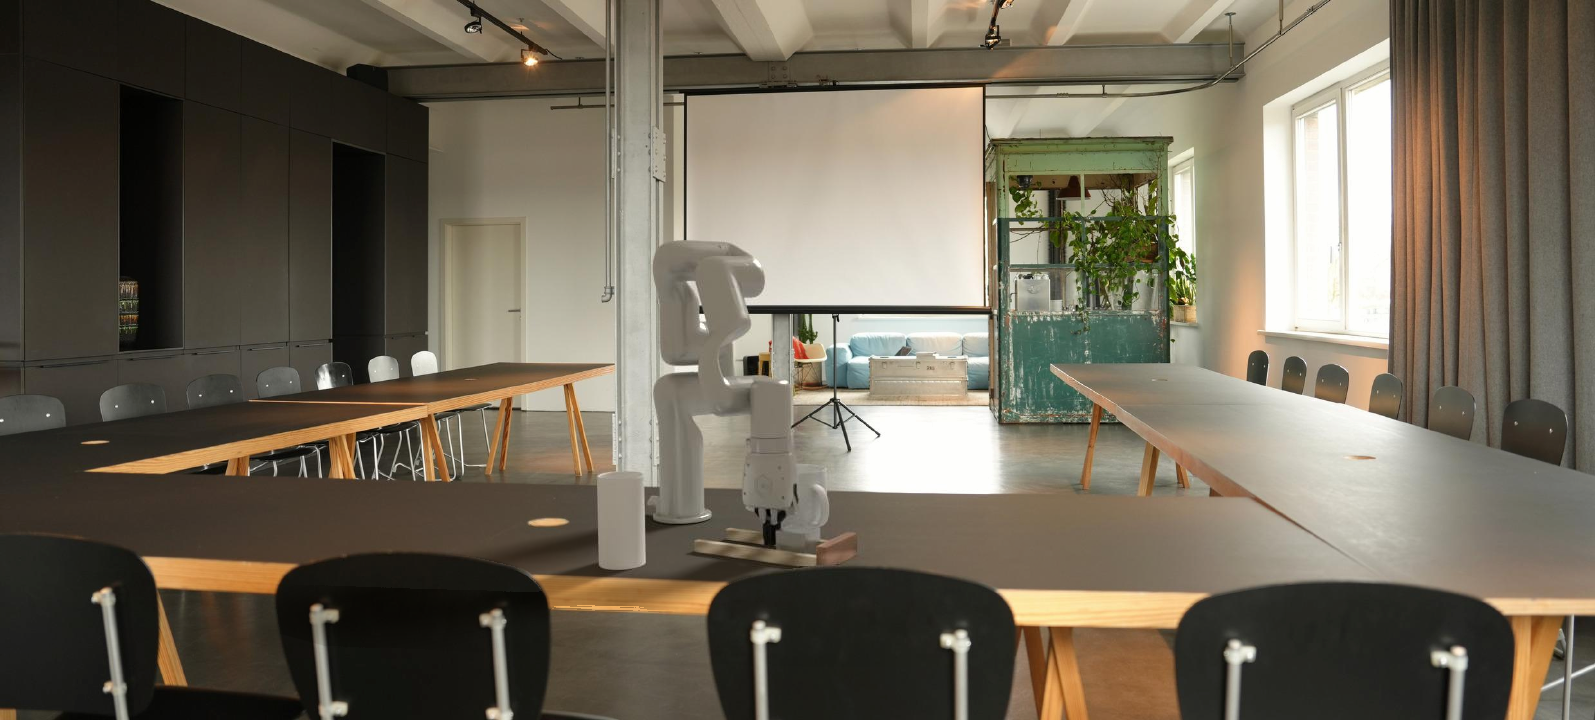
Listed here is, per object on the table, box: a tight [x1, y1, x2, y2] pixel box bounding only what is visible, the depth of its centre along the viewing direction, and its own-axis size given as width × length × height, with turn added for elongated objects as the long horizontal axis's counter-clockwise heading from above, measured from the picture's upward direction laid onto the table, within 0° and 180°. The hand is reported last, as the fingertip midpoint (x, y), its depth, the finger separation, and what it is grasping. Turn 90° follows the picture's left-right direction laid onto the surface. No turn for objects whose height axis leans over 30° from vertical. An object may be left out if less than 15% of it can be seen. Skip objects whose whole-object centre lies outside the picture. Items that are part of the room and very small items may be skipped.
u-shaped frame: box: [693, 527, 858, 568], centre depth 177 cm, size 28×12×4 cm, turn 60°
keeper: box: [775, 524, 821, 555], centre depth 175 cm, size 6×6×5 cm
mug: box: [781, 463, 830, 528], centre depth 192 cm, size 15×11×13 cm
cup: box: [596, 470, 647, 571], centre depth 171 cm, size 8×8×16 cm
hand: (772, 543), depth 178 cm, fingers closed
